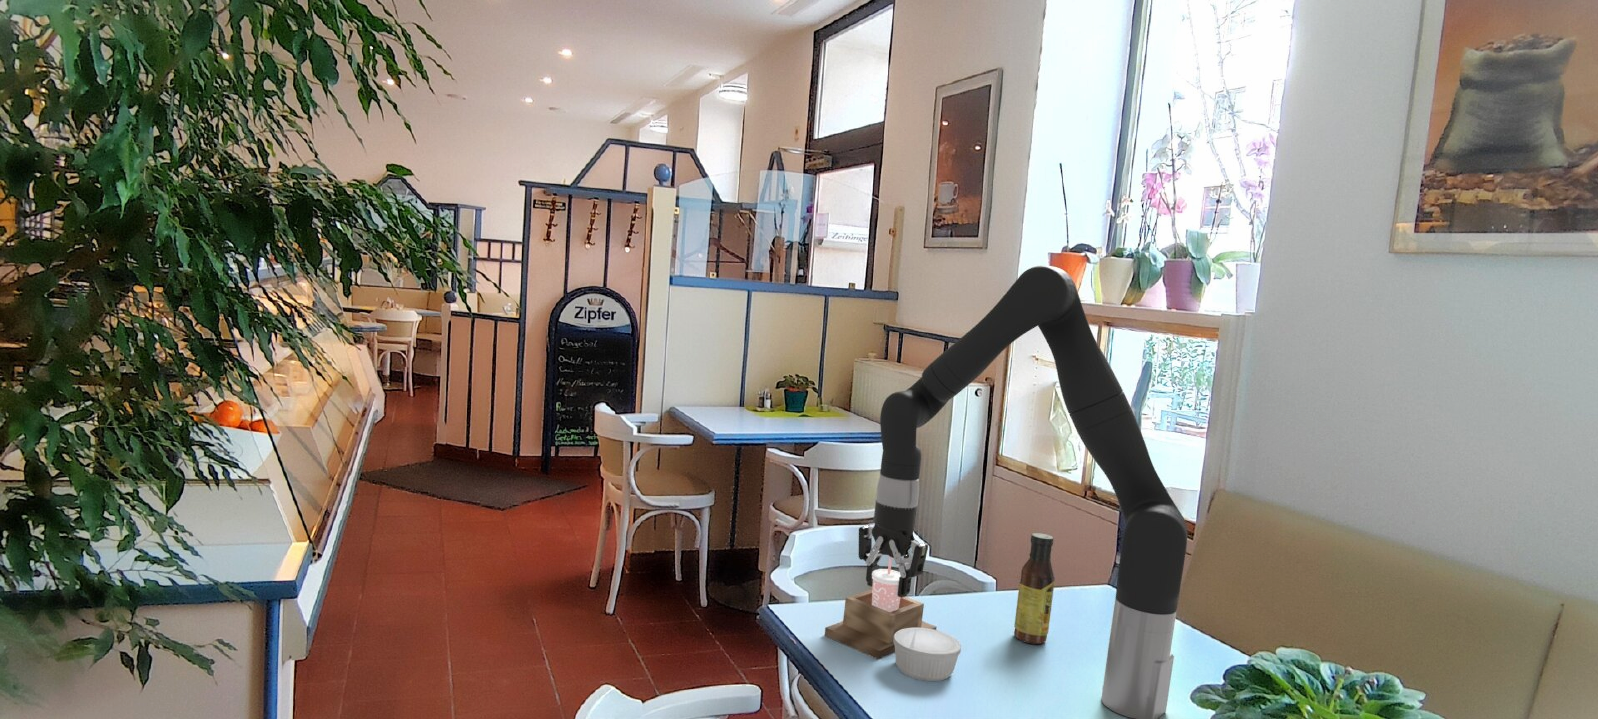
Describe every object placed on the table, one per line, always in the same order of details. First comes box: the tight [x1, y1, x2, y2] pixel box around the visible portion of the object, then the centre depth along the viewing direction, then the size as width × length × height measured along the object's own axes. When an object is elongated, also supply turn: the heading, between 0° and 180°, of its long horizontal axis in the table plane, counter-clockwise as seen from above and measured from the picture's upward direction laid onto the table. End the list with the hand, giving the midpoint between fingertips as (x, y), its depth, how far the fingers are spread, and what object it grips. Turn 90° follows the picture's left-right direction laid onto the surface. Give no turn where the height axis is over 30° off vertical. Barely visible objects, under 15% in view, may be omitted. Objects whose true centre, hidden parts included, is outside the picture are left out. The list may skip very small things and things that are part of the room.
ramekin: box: [893, 628, 962, 682], centre depth 153 cm, size 11×11×5 cm
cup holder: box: [824, 588, 938, 660], centre depth 166 cm, size 12×18×6 cm, turn 139°
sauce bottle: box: [1013, 532, 1056, 645], centre depth 171 cm, size 7×6×20 cm
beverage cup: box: [871, 556, 901, 612], centre depth 165 cm, size 6×6×14 cm
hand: (886, 590), depth 165 cm, fingers closed on beverage cup, 6 cm apart
